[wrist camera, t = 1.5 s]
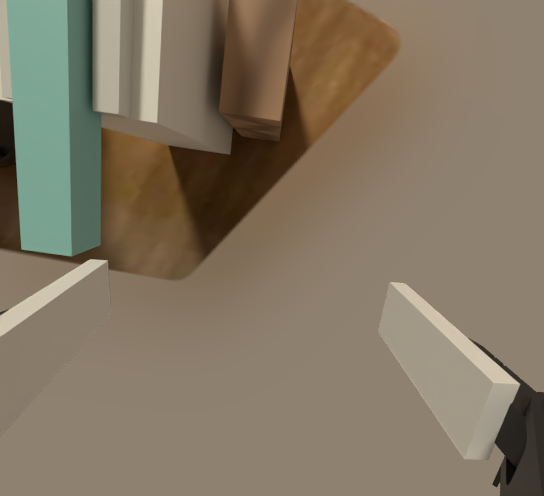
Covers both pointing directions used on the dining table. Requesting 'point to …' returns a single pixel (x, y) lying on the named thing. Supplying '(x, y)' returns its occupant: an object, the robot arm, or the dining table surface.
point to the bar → (55, 125)
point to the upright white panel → (154, 70)
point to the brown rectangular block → (257, 66)
